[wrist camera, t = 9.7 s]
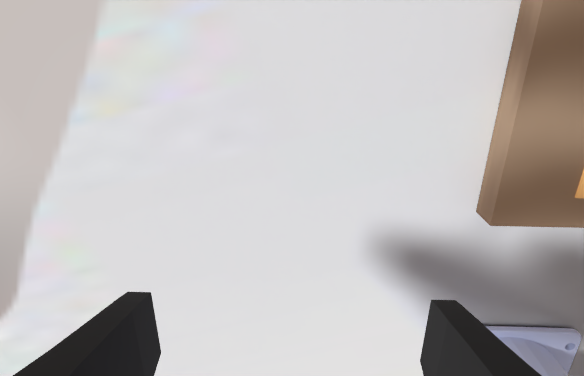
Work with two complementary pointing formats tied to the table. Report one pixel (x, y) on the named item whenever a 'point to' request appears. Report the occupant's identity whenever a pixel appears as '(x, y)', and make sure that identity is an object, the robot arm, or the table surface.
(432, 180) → the table surface
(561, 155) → the board
